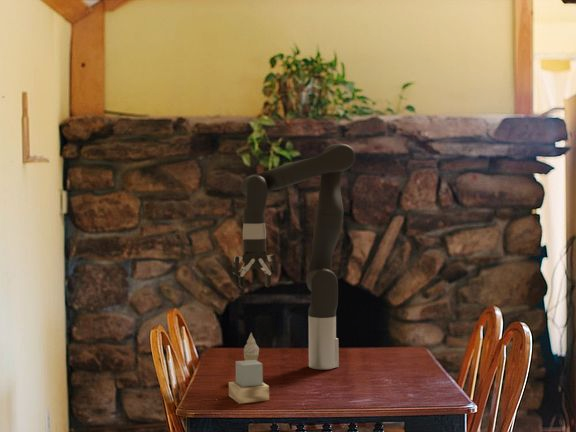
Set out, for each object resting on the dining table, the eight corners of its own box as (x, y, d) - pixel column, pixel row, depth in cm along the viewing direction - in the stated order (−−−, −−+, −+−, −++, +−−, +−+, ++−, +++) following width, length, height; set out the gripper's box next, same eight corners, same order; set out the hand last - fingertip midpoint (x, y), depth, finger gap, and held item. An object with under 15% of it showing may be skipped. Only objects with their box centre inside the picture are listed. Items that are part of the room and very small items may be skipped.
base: (258, 392, 226) (257, 378, 226) (269, 400, 218) (269, 385, 218) (228, 395, 223) (228, 381, 223) (239, 403, 214) (238, 388, 214)
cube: (255, 380, 224) (255, 359, 224) (262, 384, 219) (262, 363, 218) (235, 382, 222) (235, 361, 222) (242, 386, 216) (242, 365, 216)
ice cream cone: (261, 378, 243) (261, 331, 243) (255, 382, 239) (255, 334, 238) (246, 377, 245) (246, 330, 245) (240, 381, 240) (240, 333, 240)
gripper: (270, 236, 255) (271, 285, 255) (229, 237, 249) (230, 287, 250) (279, 237, 248) (279, 287, 248) (237, 238, 242) (237, 290, 243)
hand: (254, 287), depth 249 cm, fingers open, 8 cm apart
